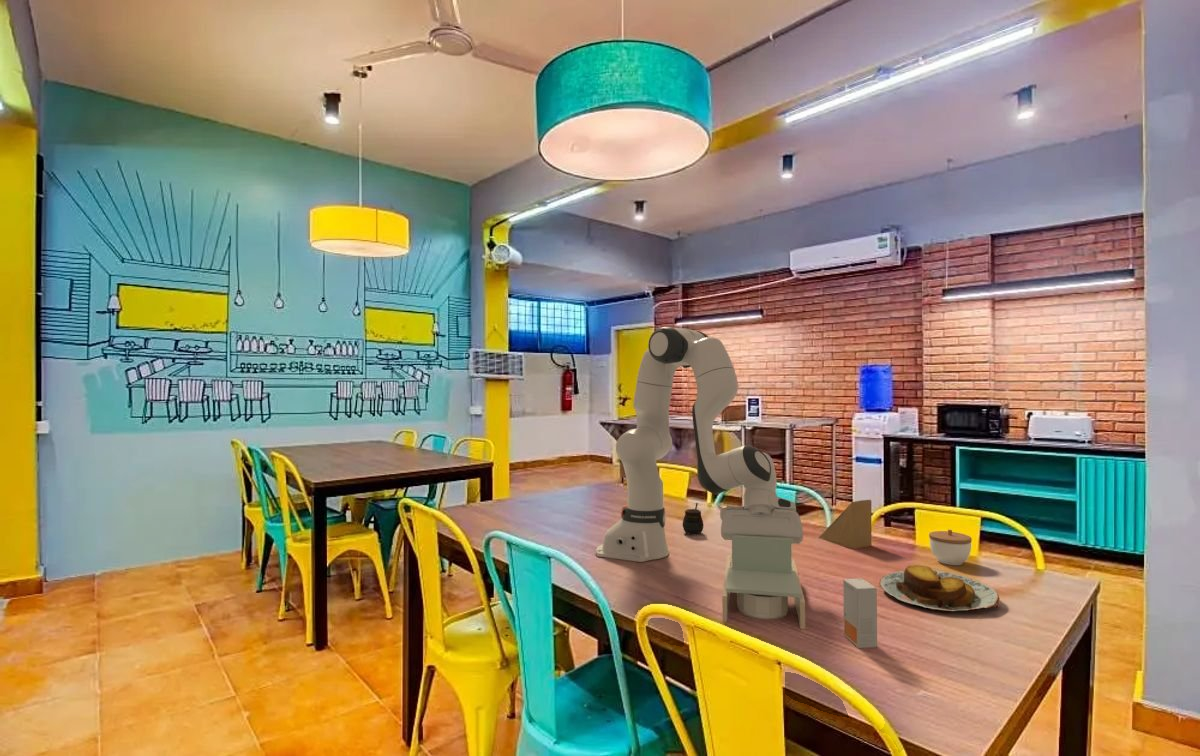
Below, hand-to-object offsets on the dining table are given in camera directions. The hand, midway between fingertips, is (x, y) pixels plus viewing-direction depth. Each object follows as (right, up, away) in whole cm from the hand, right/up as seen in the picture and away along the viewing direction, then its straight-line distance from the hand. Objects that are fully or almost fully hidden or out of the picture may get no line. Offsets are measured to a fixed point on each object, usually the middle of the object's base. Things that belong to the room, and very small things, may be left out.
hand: (761, 555), depth 149 cm
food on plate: (+43, -10, -1) cm, 44 cm away
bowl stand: (-1, -10, -2) cm, 10 cm away
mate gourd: (-8, -10, +61) cm, 62 cm away
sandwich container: (+40, -10, +49) cm, 65 cm away
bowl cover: (-2, -4, -8) cm, 9 cm away
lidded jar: (+62, -10, +26) cm, 68 cm away
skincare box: (+13, -10, -26) cm, 31 cm away
